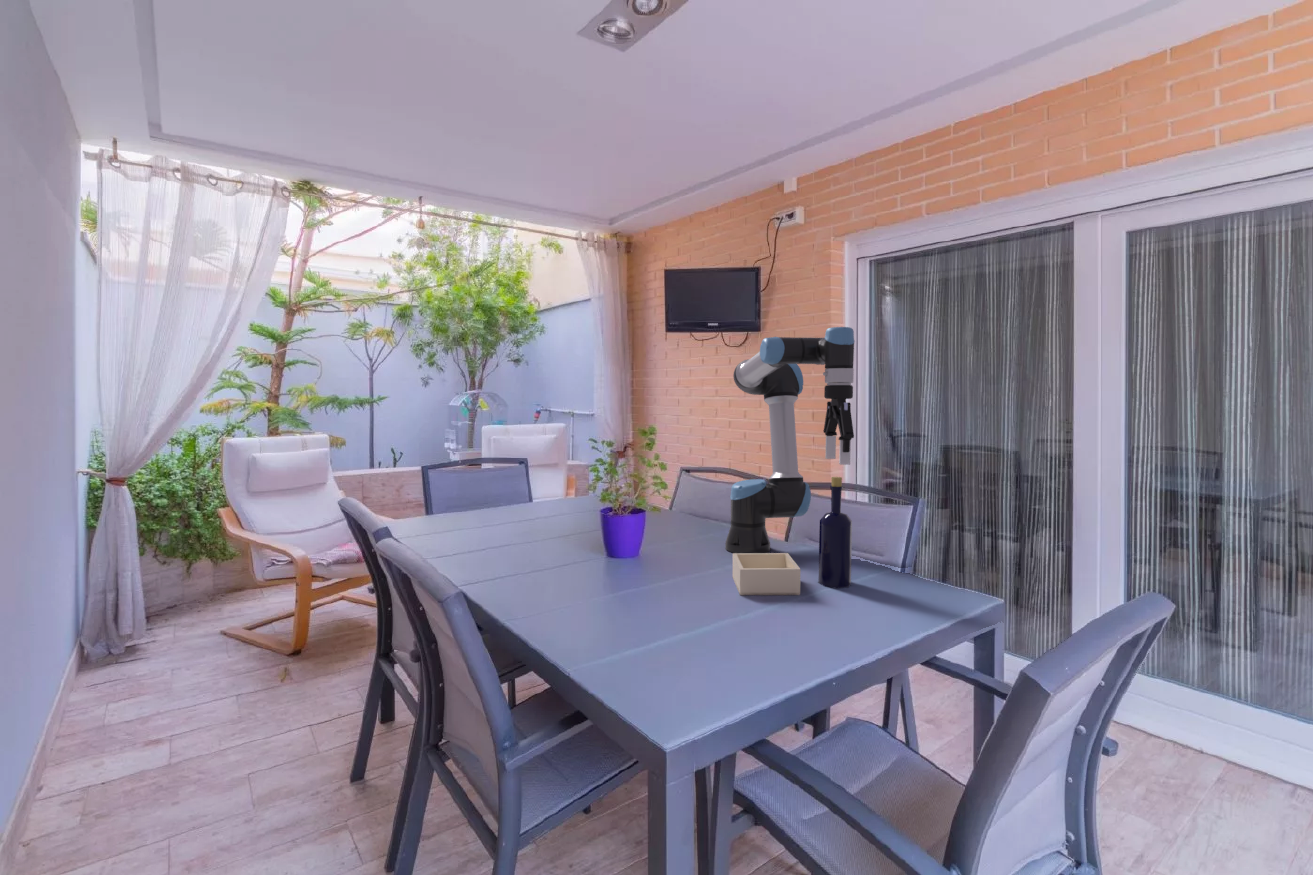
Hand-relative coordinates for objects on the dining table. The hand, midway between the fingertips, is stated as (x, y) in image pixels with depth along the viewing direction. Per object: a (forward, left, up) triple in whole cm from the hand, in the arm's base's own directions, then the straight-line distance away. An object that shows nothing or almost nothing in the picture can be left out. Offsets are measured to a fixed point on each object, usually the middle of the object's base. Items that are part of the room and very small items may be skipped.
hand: (837, 461), depth 175 cm
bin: (+2, -20, -34) cm, 40 cm away
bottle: (0, 0, -35) cm, 35 cm away
